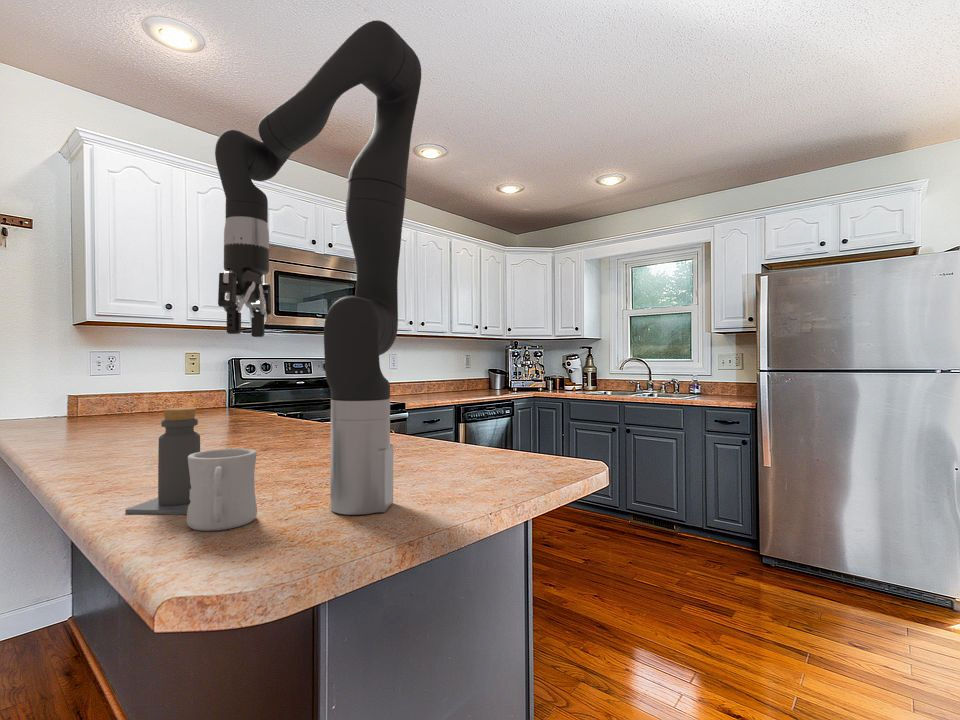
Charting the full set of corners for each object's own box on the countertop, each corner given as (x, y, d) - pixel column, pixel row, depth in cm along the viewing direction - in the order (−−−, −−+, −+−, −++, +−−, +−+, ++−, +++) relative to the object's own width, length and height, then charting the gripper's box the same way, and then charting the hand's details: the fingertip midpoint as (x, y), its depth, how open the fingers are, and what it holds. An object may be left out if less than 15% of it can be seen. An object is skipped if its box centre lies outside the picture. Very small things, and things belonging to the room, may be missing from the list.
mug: (191, 517, 76) (191, 450, 76) (258, 510, 79) (258, 446, 79) (176, 544, 64) (176, 465, 64) (255, 535, 68) (255, 460, 68)
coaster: (225, 497, 87) (225, 493, 87) (188, 514, 77) (188, 510, 77) (168, 496, 88) (168, 493, 88) (125, 513, 78) (125, 509, 78)
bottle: (181, 506, 79) (181, 410, 79) (148, 504, 80) (149, 409, 80) (208, 497, 85) (208, 407, 85) (177, 495, 86) (178, 406, 86)
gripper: (247, 236, 85) (246, 332, 85) (284, 254, 100) (283, 337, 99) (203, 236, 86) (203, 333, 85) (246, 255, 100) (246, 337, 100)
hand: (246, 335), depth 92 cm, fingers open, 8 cm apart
